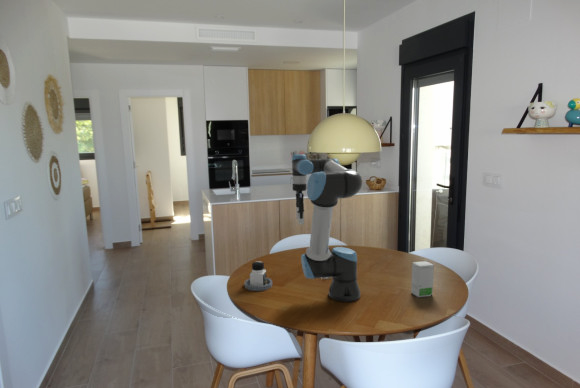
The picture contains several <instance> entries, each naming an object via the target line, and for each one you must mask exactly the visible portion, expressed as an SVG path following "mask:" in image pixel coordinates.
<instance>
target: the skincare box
mask: <svg viewBox="0 0 580 388" xmlns="http://www.w3.org/2000/svg"><path fill="white" fill-rule="evenodd" d="M411 264H412V268H411V287H410V288H411V289H410V291H411V294H413V295H414V296H415V297H417V298H424V297H432V296H433V291H434V290H433V289H434V288H433V287H434V272H435V271H434V268H435V264H432V263H431V262H428V261H414V262H412V263H411ZM431 295H432V296H431Z"/></svg>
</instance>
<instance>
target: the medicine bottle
mask: <svg viewBox="0 0 580 388" xmlns="http://www.w3.org/2000/svg"><path fill="white" fill-rule="evenodd" d="M251 270H252V271H251V272H250V273H249V279H250V286H265V284H266V282H267V278H268V277H267V269H265V263H264V262H262V261H258V260H257V261H254V262H252V264H251Z"/></svg>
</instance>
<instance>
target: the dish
mask: <svg viewBox="0 0 580 388" xmlns="http://www.w3.org/2000/svg"><path fill="white" fill-rule="evenodd" d="M244 287H245V289H246V290H248V291H250V292H251V291H254V292H261V291H267V290H269V289H271V288H272V287H273V280H272V278H270V277H267V282H266V284H265V286H250V278H247V279H246V280H245V281H244Z"/></svg>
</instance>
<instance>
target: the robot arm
mask: <svg viewBox="0 0 580 388" xmlns="http://www.w3.org/2000/svg"><path fill="white" fill-rule="evenodd" d="M291 157H292V159H291V164H292V165H291V167H292V168H291V169H292V170H291V171H292V172H291V173H292V177H291V180H292V191H293V192H295V207H296V210H295V211H296V212H295V215H296V217H295V218H296V220H298V225H305V216H304V214H305V213H304V212H305V203H304V193H303V192H305V191H306V195H307V198H308V200H310V203H311V204H312V205H313V208H312V218H311V219H312V220H311V227H310V229H311V230H310V238H309V239H310V240H309V247H307V248H306V250H305V253H303V254H301V255H300V261H301V267H302V272H303V274H304V277H305V278H306V279H309V280H310V279H311V280H315V279H322V278H323V279H324V278H332V281H331V283H330V286H329V289H328V297H330V299H332V300H333V301H336V302H344V303H350V302H354V301H357V300H359V299H360V298H361V290H360V287H359V283H358V255H357V252H356V251H355V250H353V249H351V248H348V247H344V246H343V247H342V246H338V247H337V246H336V247H332V249H331V250H330V249H329V245H330V238H331V237H330V236H331V228H332V221H333V212H334V208H335V207H336V206H337V204H338V200H339V199H348V198H353V197H354V196H355V195H357V194H358V193H359V192H360V191H361V188H362V186H363V178H362V176H361V175H360V173H359V172H358V171H355V170H354V169H351V168H346V167H345V166H343V165H341V164H340V162H339V159H338V158H333V157H331V158H312V159H311V158H309V159H308V158H307V155H306V154H305V153H304V154H303V153H302V154H299V153H298V154H292V156H291ZM308 175H309V177H308V180H307V176H308Z"/></svg>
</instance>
